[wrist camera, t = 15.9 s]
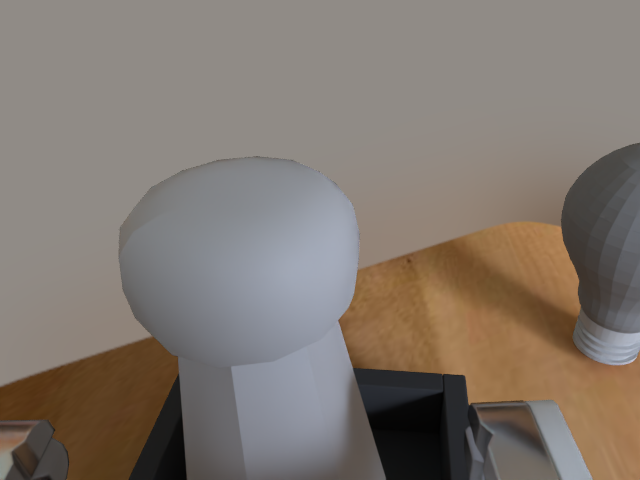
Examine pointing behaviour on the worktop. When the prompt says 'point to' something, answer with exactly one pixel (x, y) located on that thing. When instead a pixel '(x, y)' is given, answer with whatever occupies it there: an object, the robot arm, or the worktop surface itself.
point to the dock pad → (384, 418)
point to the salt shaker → (254, 317)
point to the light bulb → (606, 255)
